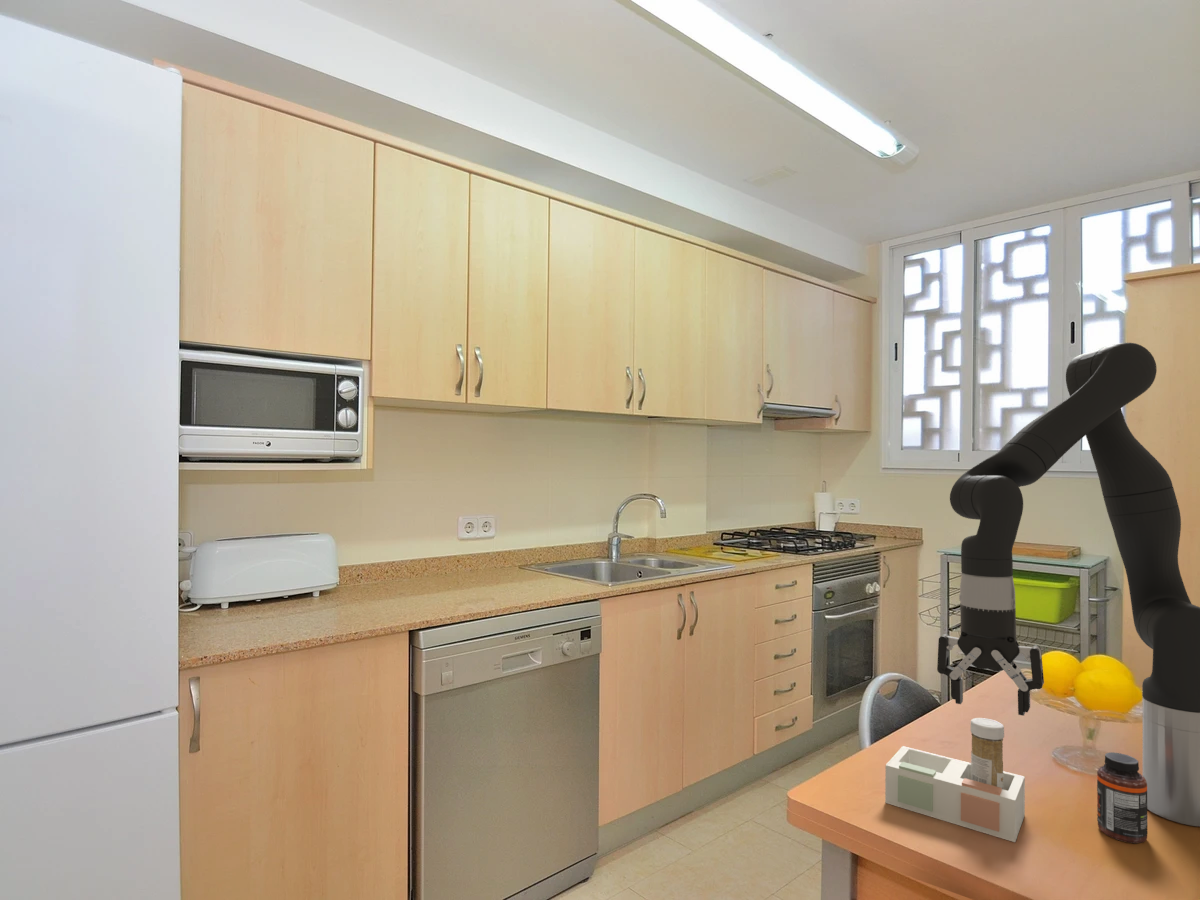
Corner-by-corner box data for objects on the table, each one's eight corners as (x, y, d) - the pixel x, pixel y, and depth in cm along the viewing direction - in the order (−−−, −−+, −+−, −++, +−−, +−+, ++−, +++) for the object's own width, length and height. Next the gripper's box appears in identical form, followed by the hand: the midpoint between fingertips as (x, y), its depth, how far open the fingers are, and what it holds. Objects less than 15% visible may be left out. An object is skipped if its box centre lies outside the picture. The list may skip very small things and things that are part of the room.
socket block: (1024, 815, 107) (1024, 773, 107) (1014, 843, 99) (1014, 798, 99) (902, 781, 118) (902, 743, 118) (884, 803, 110) (884, 763, 110)
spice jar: (1010, 815, 105) (1011, 727, 105) (983, 817, 104) (983, 728, 104) (990, 801, 109) (990, 716, 109) (963, 802, 109) (964, 717, 109)
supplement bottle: (1098, 819, 106) (1098, 745, 106) (1147, 833, 102) (1147, 756, 102) (1095, 835, 101) (1095, 758, 102) (1147, 850, 98) (1147, 769, 98)
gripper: (1043, 604, 106) (1046, 711, 105) (942, 594, 114) (944, 693, 114) (1038, 612, 100) (1041, 725, 99) (932, 601, 108) (934, 705, 108)
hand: (989, 708), depth 106 cm, fingers open, 8 cm apart
